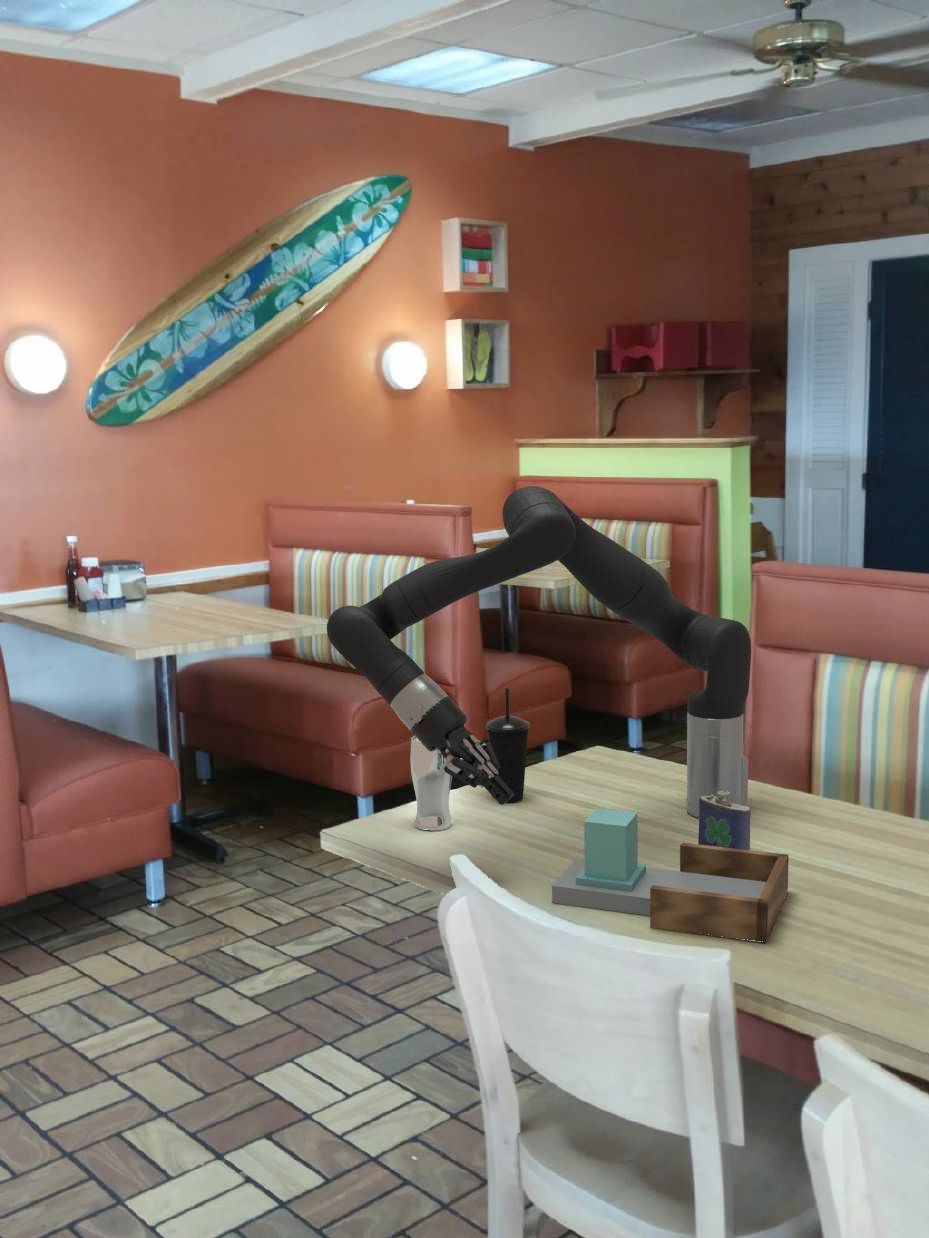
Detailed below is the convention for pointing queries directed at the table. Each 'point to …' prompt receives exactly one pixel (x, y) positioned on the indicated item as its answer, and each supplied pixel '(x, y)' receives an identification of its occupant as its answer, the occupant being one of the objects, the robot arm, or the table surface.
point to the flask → (723, 822)
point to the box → (723, 910)
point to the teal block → (611, 851)
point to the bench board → (644, 889)
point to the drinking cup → (510, 749)
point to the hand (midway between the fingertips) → (508, 800)
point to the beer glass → (430, 787)
